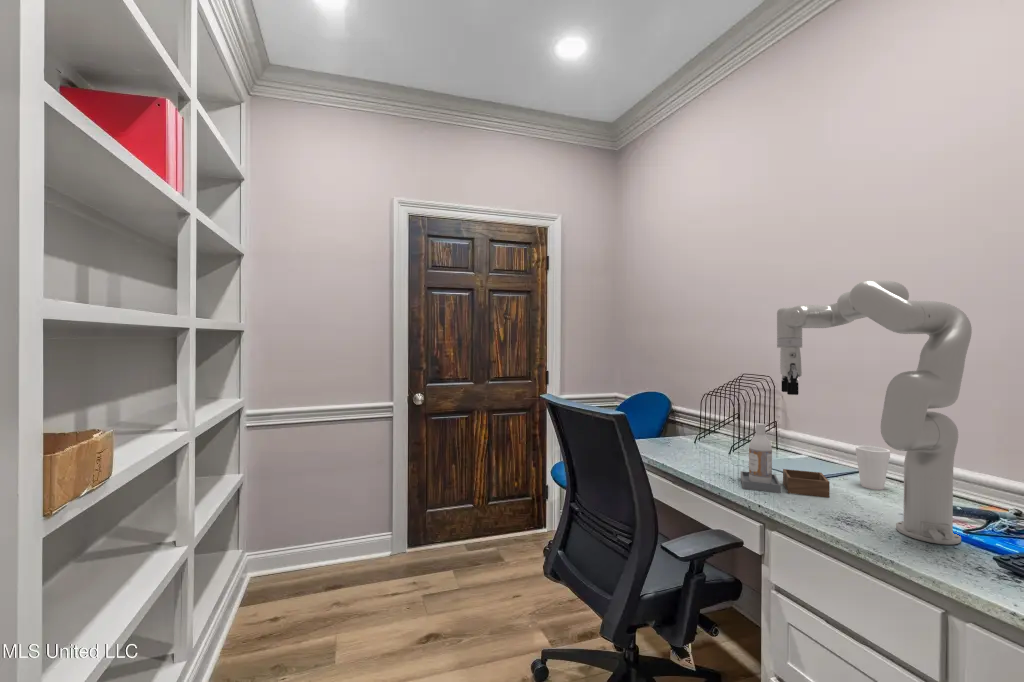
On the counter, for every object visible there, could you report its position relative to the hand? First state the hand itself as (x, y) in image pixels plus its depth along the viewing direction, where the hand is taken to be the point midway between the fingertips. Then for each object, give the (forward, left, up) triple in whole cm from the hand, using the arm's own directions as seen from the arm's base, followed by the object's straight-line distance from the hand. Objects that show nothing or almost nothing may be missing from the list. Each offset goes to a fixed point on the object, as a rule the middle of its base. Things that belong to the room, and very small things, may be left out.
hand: (789, 393), depth 163 cm
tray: (-4, +10, -32) cm, 33 cm away
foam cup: (+9, -26, -32) cm, 42 cm away
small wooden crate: (-4, -4, -32) cm, 32 cm away
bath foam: (-4, +9, -31) cm, 32 cm away
